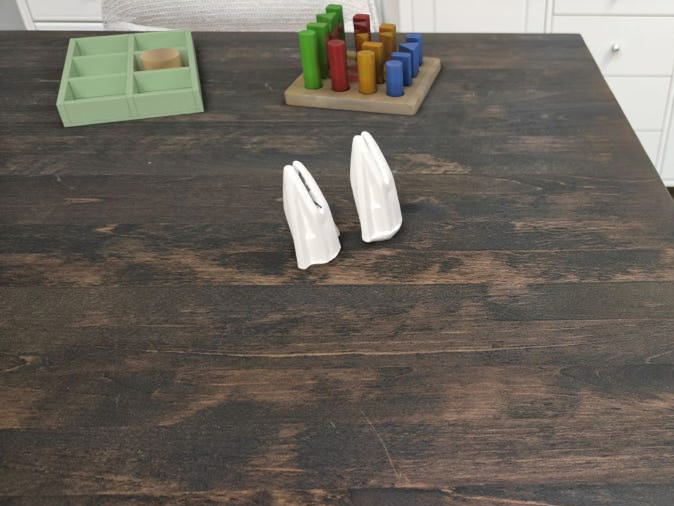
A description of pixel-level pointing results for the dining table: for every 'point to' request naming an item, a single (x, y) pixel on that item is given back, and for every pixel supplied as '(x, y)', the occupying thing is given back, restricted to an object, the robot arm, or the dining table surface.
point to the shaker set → (314, 213)
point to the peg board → (360, 67)
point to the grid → (127, 79)
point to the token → (160, 59)
